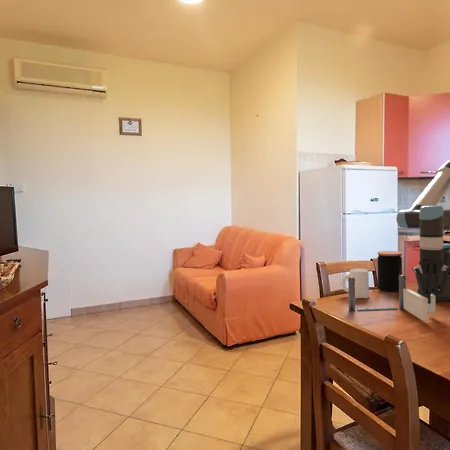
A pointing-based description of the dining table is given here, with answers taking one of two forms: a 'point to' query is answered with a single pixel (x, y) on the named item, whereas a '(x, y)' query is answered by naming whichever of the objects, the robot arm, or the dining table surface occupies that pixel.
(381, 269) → the coffee jar
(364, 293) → the mug
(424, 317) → the gate
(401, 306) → the posts and sill
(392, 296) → the dining table surface
